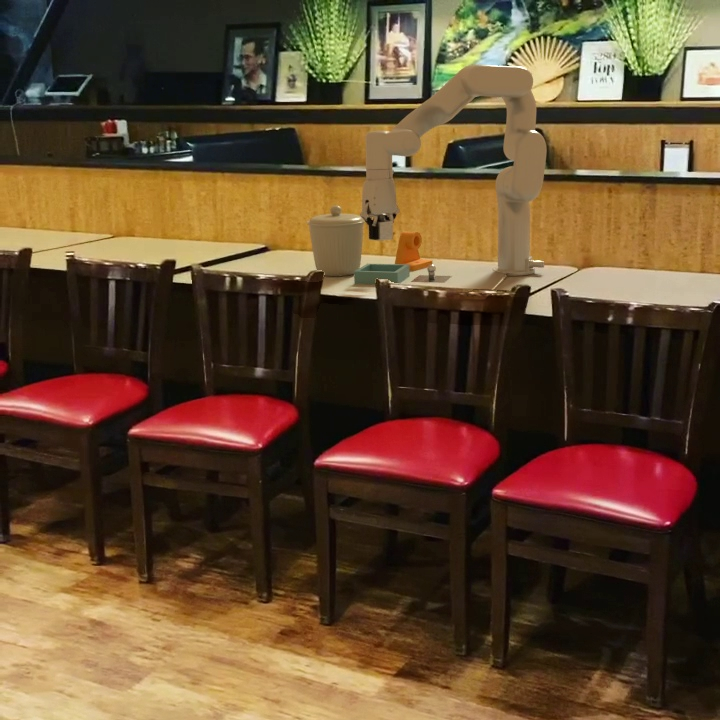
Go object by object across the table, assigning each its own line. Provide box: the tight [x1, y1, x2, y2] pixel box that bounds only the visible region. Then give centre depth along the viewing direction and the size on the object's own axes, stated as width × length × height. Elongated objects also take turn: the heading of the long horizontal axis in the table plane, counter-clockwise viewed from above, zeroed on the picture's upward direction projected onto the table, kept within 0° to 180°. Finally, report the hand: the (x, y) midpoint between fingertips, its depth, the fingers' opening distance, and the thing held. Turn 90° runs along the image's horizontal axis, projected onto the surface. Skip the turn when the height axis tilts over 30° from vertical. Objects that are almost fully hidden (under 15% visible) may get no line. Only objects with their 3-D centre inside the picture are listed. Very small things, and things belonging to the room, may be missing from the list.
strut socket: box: [367, 215, 394, 242], centre depth 304 cm, size 5×5×8 cm
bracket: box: [394, 230, 434, 272], centre depth 325 cm, size 11×7×12 cm, turn 142°
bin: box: [353, 263, 411, 285], centre depth 308 cm, size 13×13×4 cm
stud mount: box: [410, 264, 453, 284], centre depth 307 cm, size 10×10×5 cm
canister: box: [306, 205, 366, 277], centre depth 322 cm, size 18×18×21 cm
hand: (380, 237), depth 305 cm, fingers closed on strut socket, 5 cm apart
